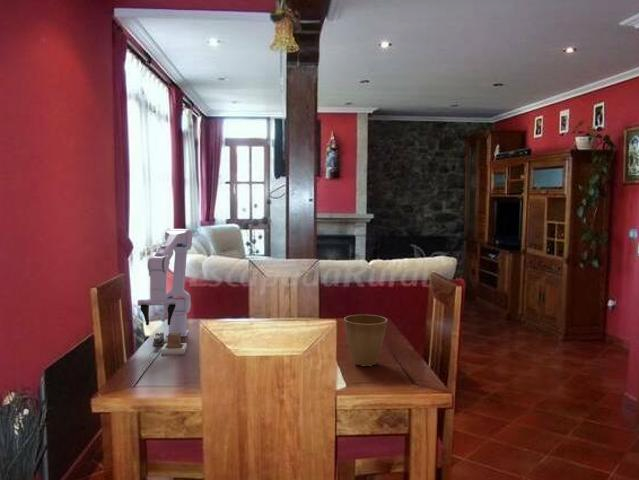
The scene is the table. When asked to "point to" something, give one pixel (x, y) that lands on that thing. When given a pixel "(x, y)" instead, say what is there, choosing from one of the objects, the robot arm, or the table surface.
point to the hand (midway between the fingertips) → (158, 324)
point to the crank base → (161, 343)
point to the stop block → (174, 340)
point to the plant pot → (365, 337)
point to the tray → (173, 350)
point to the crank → (159, 338)
